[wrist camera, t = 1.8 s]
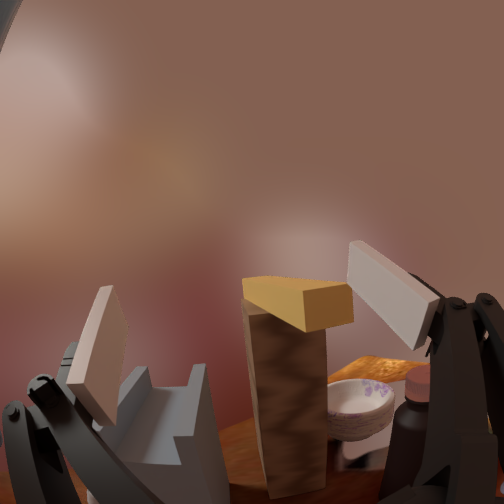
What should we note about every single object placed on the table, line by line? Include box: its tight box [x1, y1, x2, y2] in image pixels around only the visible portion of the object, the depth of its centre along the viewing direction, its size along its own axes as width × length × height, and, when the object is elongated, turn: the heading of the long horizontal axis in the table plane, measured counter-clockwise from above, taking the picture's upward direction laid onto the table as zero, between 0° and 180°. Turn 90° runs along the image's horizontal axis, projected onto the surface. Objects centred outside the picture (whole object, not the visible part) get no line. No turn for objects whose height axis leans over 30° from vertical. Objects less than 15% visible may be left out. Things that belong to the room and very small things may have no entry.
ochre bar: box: [242, 276, 354, 333], centre depth 31 cm, size 4×24×3 cm, turn 12°
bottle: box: [379, 365, 430, 501], centre depth 22 cm, size 7×7×20 cm
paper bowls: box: [328, 379, 395, 442], centre depth 43 cm, size 15×15×8 cm
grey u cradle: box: [92, 364, 230, 504], centre depth 23 cm, size 9×16×22 cm, turn 5°
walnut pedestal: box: [241, 299, 328, 499], centre depth 35 cm, size 8×14×28 cm, turn 5°
